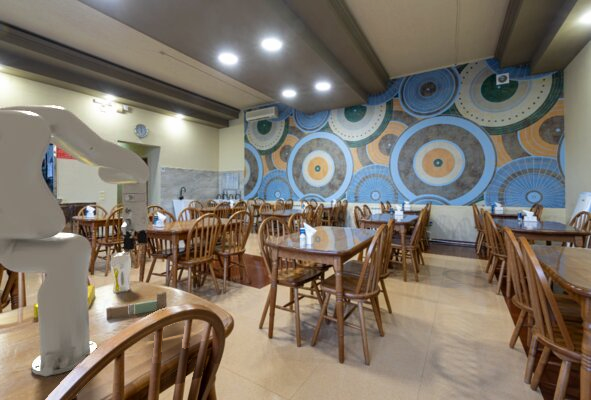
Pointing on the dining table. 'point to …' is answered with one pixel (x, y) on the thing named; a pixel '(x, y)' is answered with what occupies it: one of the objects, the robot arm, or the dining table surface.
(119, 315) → the flat brown box
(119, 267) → the beer glass
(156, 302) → the hinged panel
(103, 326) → the dining table surface
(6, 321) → the dining table surface
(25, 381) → the dining table surface
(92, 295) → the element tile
